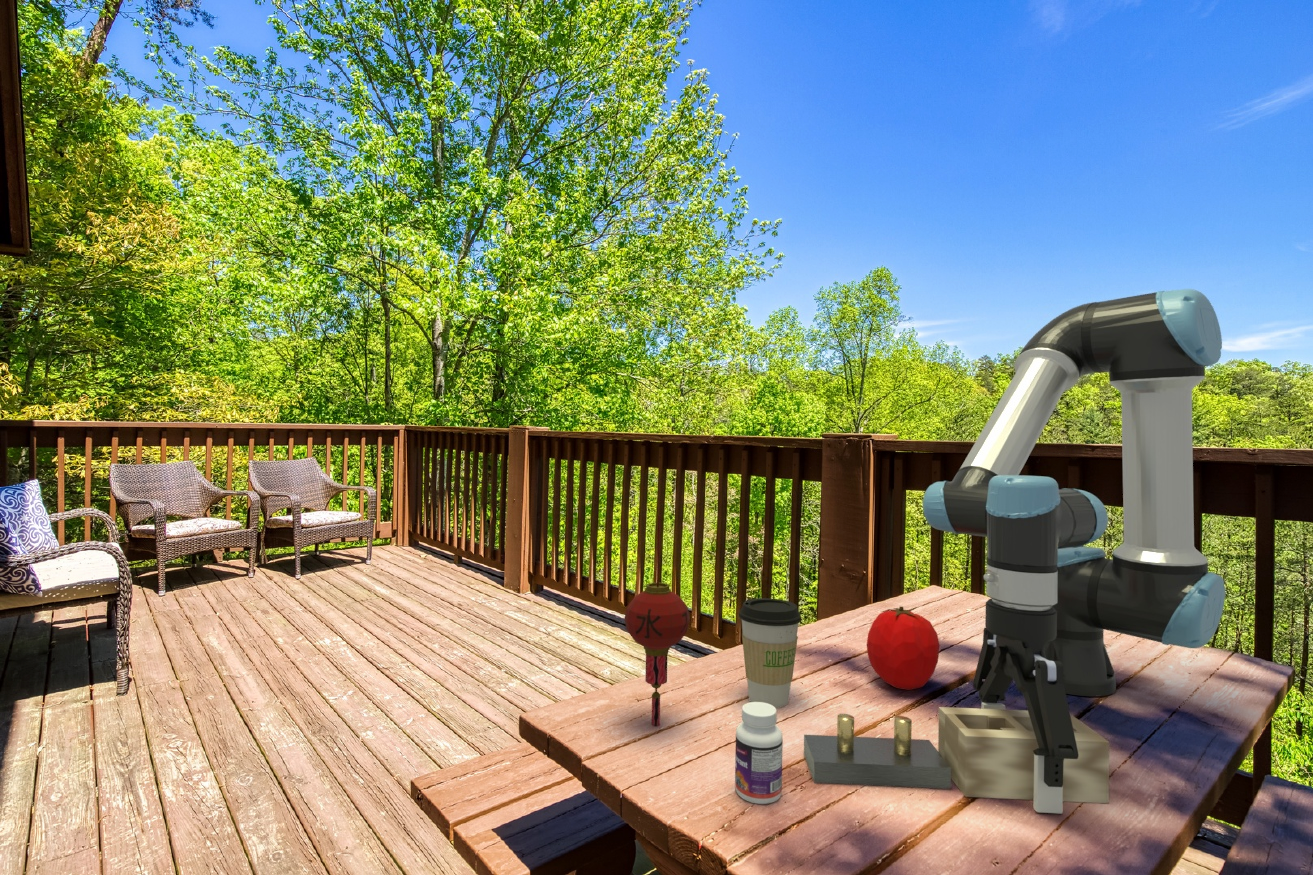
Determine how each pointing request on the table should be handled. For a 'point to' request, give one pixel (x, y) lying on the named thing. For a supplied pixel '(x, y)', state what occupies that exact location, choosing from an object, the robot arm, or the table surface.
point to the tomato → (903, 648)
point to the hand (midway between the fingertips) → (1017, 779)
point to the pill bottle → (758, 754)
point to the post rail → (876, 758)
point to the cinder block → (1016, 756)
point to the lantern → (657, 630)
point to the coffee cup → (769, 648)
